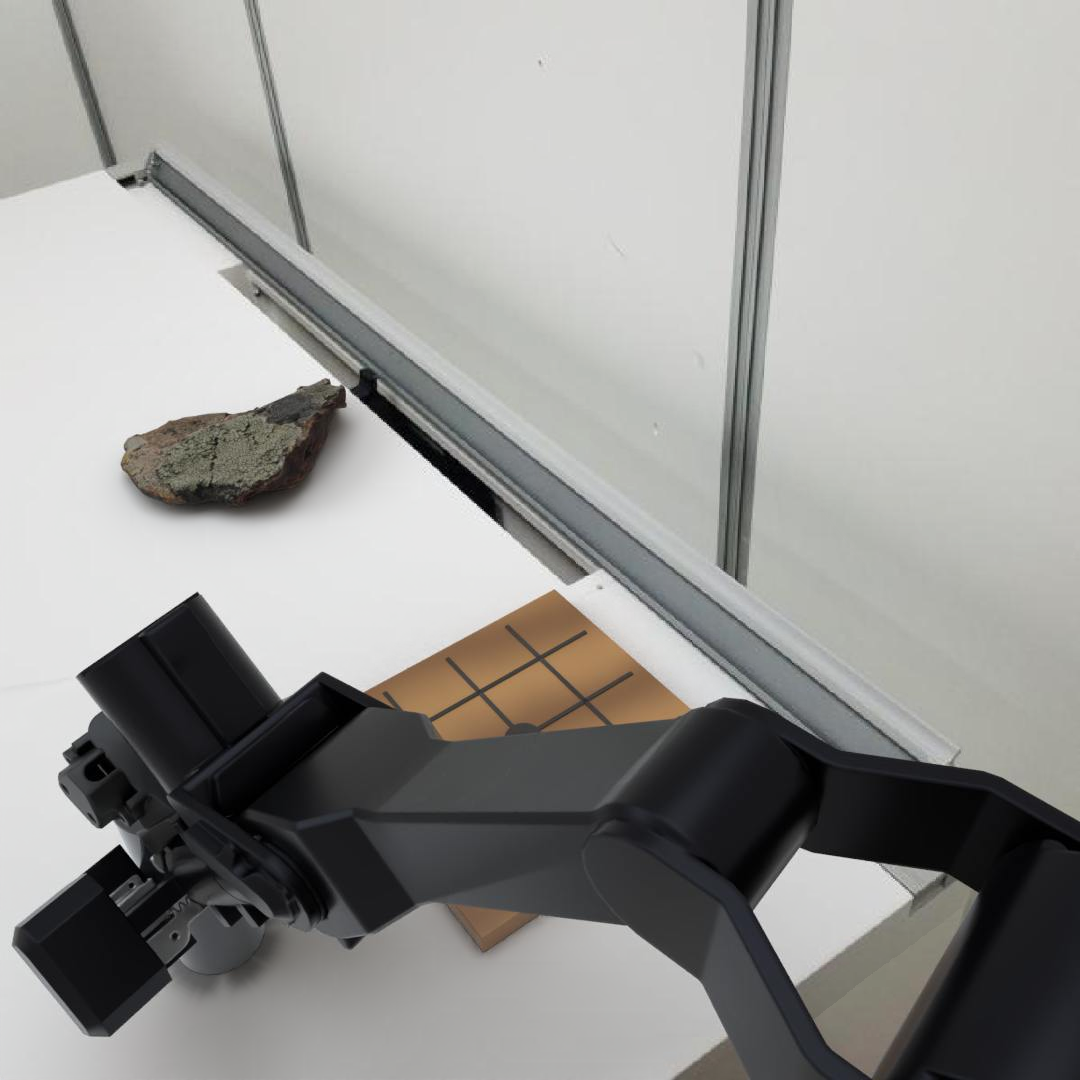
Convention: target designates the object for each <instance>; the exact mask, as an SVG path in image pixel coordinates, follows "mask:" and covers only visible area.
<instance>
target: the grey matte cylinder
mask: <svg viewBox="0 0 1080 1080" xmlns="http://www.w3.org/2000/svg"><path fill="white" fill-rule="evenodd" d="M112 822H113V823H114V825H115V827H116V829H117V832H118V834H119V836H120V838H121V840H122V842H123V845H124V847H125V848H126V850H127V853H128V855H129V856H130V857H131V859H132V860H133V861H134V862H135V864H136V865H137V866H138V867H139V869H140V870H141V871H142V872H143V874H144V875H145V876H146V877H147V879H148V878H151V879H152V880H153V881H154V882H155V884H156V885H158V884H159V883H160V882H162V881H163V880H164V879H165V878H166V877H167V876H169V875H170V873H169V870H168V868H167V867H166V866H165V870H166V874H164V875H162V874H161V873H159V872H157V871H156V869H155V868H154V867H153V865H152V864H151V862H150V859H151V857H152V856H153V855H154V854H152V853H151V851H150V850H149V849H148V848H147V846H146V845H145V844H144V843H143V841H142V840H141V839H140V838H139V836H138V835H137V834H136V832H138V831H139V830H140V829H141V828H143V826H142V825H141V824H140V823H139V821H136V822H135V823H134V824H133V825H132V826H130V827H127V826H126V825H125V824H124V823H123V822H122V821H120V820H113V821H112ZM186 896H187V895H185V896H183V897H182V898H181V899H180V900H179V901H178V902H177V903H175V904H174V905H173V906H174V908H176V909H177V910H179V911H180V908H179V905H178V903H180V902H183V903H184V904H187V903H186V899H185V897H186ZM265 928H266V922H265V923H264V924H263V925H261V926H260V927H251V925H250V924H249V923H248V922H247V920H246V919H245V918H244V916H243V917H242V918H241V919H240V920H238V921H237V922H236V923H235V924H234V925H233V926H232V927H224V925H223V924H222V923H221V922H220V920H219V919H218V918H217V917H216V915H215V914H214V913H213V911H212V910H211V909H210V908H209V907H208V908H206V909H205V910H204V911H203V912H202V913H201V914H200V915H199V916H197V917H196V918H195V919H194V920H193V921H192V922H191V923H190V925H189V930H190V933H191V934H192V935H193V937H194V938H195V939H196V940H197V943H196V944H195V945H193V946H192V947H191V948H190V949H189V950H188V951H187V952H186V953H185V954H184V955H182V956H181V957H180V958H179V960H180V962H181V963H182V964H183V965H184V966H185V967H186V968H188V969H189V970H190V971H193V972H195V973H198V974H202V975H219V974H223V973H226V972H229V971H232V970H234V969H236V968H238V967H240V966H241V965H242V964H244V963H245V962H246V961H248V960H249V959H250V958H251V957H252V956H253V954H255V952H256V951H257V949H258V948H259V946H260V945H261V943H262V941H263V938H264V933H265Z"/></svg>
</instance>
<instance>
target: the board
mask: <svg viewBox="0 0 1080 1080" xmlns="http://www.w3.org/2000/svg"><path fill="white" fill-rule="evenodd" d="M363 692H364V693H366V694H367V695H369V696H371V697H373V698H375V699H377V700H379V701H381V702H383V703H385V704H387V705H389V706H391V707H393V708H394V709H396V710H401V711H409V712H417V713H423V714H426V715H427V716H428V718H429V719H430V721H431V722H432V724H433V725H434V727H435V728H436V729H437V731H438V732H439V734H440V735H441V737H442V738H443V740H446V741H460V740H470V739H480V738H490V737H499V736H509V735H519V734H529V733H538V732H548V731H558V730H568V729H577V728H587V727H597V726H607V725H616V724H626V723H636V722H646V721H656V720H665V719H675V718H677V717H679V716H682V715H684V714H685V713H687V712H689V711H690V710H692V708H690V707H689V706H688V705H687V704H686V703H685V702H684V701H682V700H681V699H680V698H679V697H678V696H677V695H676V694H675V693H673V692H672V691H671V690H670V689H669V688H668V687H666V686H665V685H664V684H663V683H662V682H661V681H660V680H659V679H657V678H656V676H654V675H653V674H652V673H651V672H649V670H647V669H646V668H645V667H644V666H643V665H642V664H640V663H639V662H638V661H637V660H636V659H634V657H633V656H631V655H630V654H629V653H628V652H627V651H626V650H624V648H622V647H621V646H620V645H619V644H618V643H617V642H615V641H614V640H613V639H612V638H611V637H610V636H609V635H607V634H606V633H605V632H604V630H602V629H601V628H599V627H598V626H597V625H596V624H595V623H594V622H593V621H591V619H589V618H588V617H587V616H586V615H585V614H584V613H583V612H581V610H579V609H578V608H577V607H576V606H575V605H573V604H572V603H571V602H570V601H569V600H568V599H567V598H565V596H563V595H562V594H561V593H560V592H558V591H557V590H556V589H552V590H549V591H548V592H546V593H544V594H542V595H541V596H539V597H537V598H536V599H534V600H531V601H530V602H528V603H525V604H524V605H523V606H520V607H519V608H517V609H515V610H513V611H511V612H509V613H507V614H506V615H504V616H502V617H499V618H498V619H496V620H495V621H492V622H491V623H489V624H487V625H485V626H483V627H482V628H479V629H478V630H476V631H474V632H472V633H470V634H469V635H467V636H465V637H463V638H461V639H459V640H457V641H456V642H454V643H452V644H450V645H448V646H446V647H444V648H443V649H440V650H438V651H437V652H435V653H433V654H432V655H430V656H428V657H426V658H424V659H422V660H421V661H419V662H416V663H415V664H413V665H411V666H409V667H407V668H405V669H404V670H402V671H400V672H398V673H396V674H394V675H392V676H391V677H389V678H387V679H385V680H384V681H382V682H380V683H377V684H376V685H374V686H372V687H370V688H369V689H367V690H365V691H363ZM445 905H446V906H447V907H448V909H449V910H450V911H451V912H452V914H453V915H454V916H455V918H456V919H457V920H458V921H459V923H460V924H461V925H462V928H464V929H465V931H466V932H467V933H468V935H469V936H470V938H472V940H473V941H474V942H475V944H476V945H477V946H478V948H479V949H480V950H481V951H482V952H483V953H486V952H487V951H488V950H490V949H491V948H493V947H494V946H495V945H497V944H498V943H500V942H501V941H503V940H504V939H506V938H507V937H508V936H511V934H513V933H514V932H516V931H517V930H519V929H521V928H522V927H523V926H524V925H526V924H528V923H529V922H530V921H531V920H534V918H536V917H538V916H539V915H535V914H527V913H519V912H511V911H503V910H494V909H486V908H478V907H470V906H462V905H454V904H446V903H445Z"/></svg>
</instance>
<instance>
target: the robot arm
mask: <svg viewBox="0 0 1080 1080" xmlns="http://www.w3.org/2000/svg"><path fill="white" fill-rule="evenodd" d="M75 679H76V680H77V681H78V683H79V684H80V685H81V686H82V687H83V689H84V690H85V691H86V692H87V694H88V695H89V696H90V698H91V699H92V700H93V702H94V703H95V704H96V705H97V707H98V708H99V709H100V710H101V711H99V712H98V713H97V714H96V715H95V716H94V717H93V718H92V719H91V720H90V722H89V724H88V727H87V731H86V732H85V733H84V734H82V735H80V736H79V737H78V738H77V739H76V740H74V741H73V742H71V746H70V747H69V748H67V749H66V750H64V751H63V752H62V753H61V754H62V757H63V758H64V760H65V761H66V763H67V764H68V765H67V766H66V767H64V768H63V769H62V770H60V772H58V775H57V781H58V786H59V788H60V790H61V792H62V793H63V794H64V795H65V797H66V798H67V799H68V800H69V801H70V802H71V803H72V804H73V805H74V806H75V808H77V810H78V811H79V812H80V813H81V814H82V815H83V816H84V817H85V819H86V820H87V821H89V823H90V824H91V825H92V826H93V827H94V828H96V829H101V830H102V829H104V828H106V826H107V825H109V824H111V822H114V821H113V820H120V821H122V822H123V823H124V824H125V825H126V826H127V827H130V826H132V825H133V824H134V823H135V822H136V821H139V823H140V824H141V825H142V826H143V828H141V829H140V830H139V831H138V832H136V834H137V835H138V836H139V838H140V839H141V840H142V841H143V843H144V844H145V845H146V846H147V848H148V849H149V850H150V851H151V853H152V854H154V855H153V856H152V857H151V859H150V862H151V864H152V865H153V867H154V868H155V869H156V871H157V872H159V873H161V874H162V875H164V874H166V870H165V866H166V867H167V868H168V870H169V873H170V875H169V876H167V877H166V878H165V879H164V880H163V881H162V882H160V883H159V884H158V885H156V884H155V882H154V881H153V880H152V879H151V878H148V879H147V877H146V876H145V875H144V874H143V872H142V871H141V870H140V869H139V867H138V866H137V865H136V864H135V862H134V861H133V860H132V859H131V857H130V854H129V853H128V851H126V850H125V848H124V847H123V846H122V845H121V844H117V845H115V847H114V848H112V849H111V850H110V851H108V852H107V853H106V854H105V855H104V856H102V857H101V858H99V860H98V861H96V862H95V863H93V864H92V865H91V866H90V867H88V869H86V870H84V872H82V873H81V874H80V875H79V876H78V877H77V878H75V879H73V880H72V881H70V883H68V884H66V885H65V886H63V887H62V888H61V889H60V890H59V891H58V892H56V893H55V894H54V895H52V896H51V897H50V898H49V899H47V900H46V901H45V902H44V903H43V904H41V905H39V907H37V908H36V909H35V910H34V911H33V912H31V913H30V914H28V915H27V916H26V917H25V918H24V919H22V920H21V921H20V922H19V923H18V924H17V925H15V926H14V929H13V935H12V940H11V947H12V948H13V950H14V951H15V952H16V953H17V954H18V956H19V957H20V959H22V961H23V962H24V963H25V965H27V967H28V968H29V969H30V970H31V972H32V973H33V974H34V975H35V977H36V978H37V979H38V980H39V981H40V983H41V984H42V985H43V986H44V988H45V989H46V990H47V991H48V992H49V994H50V995H51V996H52V997H53V999H54V1000H55V1001H56V1002H57V1004H58V1005H59V1006H60V1007H61V1008H62V1009H63V1011H64V1012H65V1014H66V1015H67V1016H68V1017H69V1018H70V1019H71V1020H72V1022H73V1024H75V1026H76V1027H77V1028H78V1029H79V1030H80V1031H81V1033H82V1034H83V1035H85V1036H88V1037H92V1038H93V1037H95V1038H111V1037H112V1036H113V1035H114V1034H115V1033H116V1032H117V1031H119V1029H121V1027H123V1026H124V1025H125V1024H126V1023H127V1022H129V1020H131V1019H132V1018H133V1017H134V1016H135V1015H136V1014H137V1013H138V1012H139V1011H140V1010H141V1009H142V1008H144V1007H145V1005H147V1004H148V1003H149V1002H151V1000H152V999H153V998H155V997H156V996H157V995H158V994H159V993H160V992H161V991H162V990H163V989H164V988H165V987H167V986H168V985H169V984H170V983H171V982H172V981H173V978H172V976H171V974H170V972H169V969H170V968H171V966H173V965H174V964H175V963H176V962H177V961H178V960H180V957H181V956H182V955H184V954H185V953H186V952H187V951H188V950H189V949H190V948H191V947H192V946H193V945H195V944H196V943H197V940H196V939H195V938H194V937H193V935H192V934H191V933H190V930H189V925H190V923H191V922H192V921H193V920H194V919H195V918H196V917H197V916H199V915H200V914H201V913H202V912H203V911H204V910H205V909H206V908H208V907H209V908H210V909H211V910H212V911H213V913H214V914H215V915H216V917H217V918H218V919H219V920H220V922H221V923H222V924H223V925H224V927H232V926H233V925H234V924H235V923H236V922H237V921H238V920H240V919H241V918H242V917H243V916H244V918H245V919H246V920H247V922H248V923H249V924H250V925H251V927H260V926H261V925H263V924H264V923H265V924H266V922H267V921H268V920H269V919H271V920H280V922H281V923H282V924H283V925H284V926H285V927H287V928H290V927H293V928H294V929H296V930H297V931H300V932H303V933H306V934H307V933H310V932H311V931H312V930H313V929H315V930H317V931H319V932H320V933H321V934H323V935H326V936H329V937H331V938H333V939H336V940H337V942H338V943H339V944H340V945H341V946H342V948H344V949H346V950H348V951H350V950H351V951H352V950H353V949H354V948H356V946H358V944H360V943H361V941H363V939H364V938H365V937H366V936H371V935H376V934H379V933H380V932H381V931H383V930H385V929H386V928H388V927H389V926H391V925H393V924H394V923H396V922H398V921H399V920H401V919H402V918H404V917H406V916H407V915H409V914H411V913H412V912H414V911H415V910H417V909H418V908H420V907H422V906H424V905H430V904H436V903H439V904H445V905H446V904H454V905H462V906H470V907H478V908H486V909H494V910H503V911H511V912H519V913H527V914H535V915H538V916H544V917H553V918H561V919H568V920H577V921H584V922H594V923H599V924H607V925H618V926H626V927H628V928H629V929H630V930H631V931H633V932H634V933H635V934H636V935H637V936H638V937H640V938H641V939H642V940H644V941H645V942H647V943H648V944H650V945H651V946H652V947H653V948H655V950H658V951H659V952H660V953H661V954H663V955H664V956H666V957H667V958H668V959H670V960H671V961H672V962H674V963H675V964H676V965H678V966H679V967H680V968H682V969H683V970H684V971H686V972H687V973H688V974H690V975H691V976H693V977H694V978H696V979H697V980H698V981H699V982H700V984H701V985H702V987H703V989H704V990H705V993H706V995H707V997H708V999H709V1001H710V1003H711V1005H712V1007H713V1009H714V1011H715V1013H716V1015H717V1017H718V1019H719V1021H720V1023H721V1025H722V1027H723V1029H724V1032H725V1033H726V1035H727V1037H728V1040H729V1041H730V1043H731V1045H732V1048H733V1049H734V1051H735V1053H736V1055H737V1057H738V1060H739V1061H740V1063H741V1067H742V1068H743V1069H744V1072H745V1073H746V1074H745V1075H746V1076H747V1078H748V1080H1080V820H1078V819H1076V818H1074V817H1073V816H1071V815H1070V814H1067V813H1066V812H1064V811H1063V810H1061V809H1058V808H1056V807H1055V806H1053V805H1052V804H1050V803H1048V802H1046V801H1045V800H1043V799H1041V798H1039V797H1037V796H1036V795H1034V794H1032V793H1031V792H1028V791H1026V790H1025V789H1023V788H1021V787H1019V786H1018V785H1016V784H1015V783H1013V782H1011V781H1009V780H1007V779H1006V778H1004V777H1002V776H999V775H997V774H993V773H991V772H988V771H985V770H979V769H972V768H967V767H960V766H952V765H945V764H938V763H931V762H924V761H916V760H910V759H904V758H903V759H902V758H895V757H889V756H883V755H876V754H875V755H874V754H868V753H862V752H854V751H846V750H841V749H838V748H836V747H834V746H832V745H831V744H829V743H827V742H825V741H824V740H823V739H821V738H819V737H817V736H815V735H813V734H812V733H810V732H808V731H807V730H805V729H803V728H802V727H800V726H799V725H797V724H795V723H794V722H792V721H790V720H788V719H787V718H785V717H783V716H782V715H780V714H779V713H777V712H776V711H774V710H772V709H769V708H767V707H765V706H762V705H760V704H758V703H756V702H753V701H751V700H749V699H744V698H736V697H725V696H723V697H721V698H719V699H716V700H714V701H711V702H709V703H707V704H706V705H705V706H700V707H696V708H691V710H690V711H689V712H687V713H685V714H684V715H682V716H679V717H677V718H675V719H665V720H656V721H646V722H636V723H626V724H616V725H607V726H597V727H587V728H577V729H568V730H558V731H548V732H538V733H529V734H519V735H509V736H499V737H490V738H480V739H470V740H460V741H446V740H443V738H442V737H441V735H440V734H439V732H438V731H437V729H436V728H435V727H434V725H433V724H432V722H431V721H430V719H429V718H428V716H427V715H426V714H423V713H417V712H409V711H401V710H396V709H394V708H393V707H391V706H389V705H387V704H385V703H383V702H381V701H379V700H377V699H375V698H373V697H371V696H369V695H367V694H366V693H364V692H365V691H361V690H360V689H358V688H356V687H354V686H352V685H350V684H348V683H347V682H344V681H343V680H340V679H339V678H336V677H334V676H333V675H331V674H329V673H327V672H326V671H320V672H319V673H318V674H316V675H315V676H314V677H313V678H311V679H310V680H309V681H308V682H306V683H305V684H304V685H303V686H301V687H300V688H299V689H297V691H295V692H294V693H292V694H291V695H289V696H287V697H285V698H281V697H280V696H279V694H278V692H276V690H275V689H274V688H273V686H272V685H271V683H270V682H269V681H268V680H267V678H266V677H265V676H264V675H263V673H262V672H261V671H260V669H259V668H258V666H257V665H256V664H255V663H254V662H253V660H252V659H251V657H250V655H248V654H247V652H246V651H245V650H244V648H243V647H242V646H241V645H240V643H239V642H238V641H237V639H236V638H235V636H234V635H233V634H232V633H231V631H230V630H229V628H228V627H227V626H226V625H225V624H224V622H223V621H222V620H221V618H220V617H219V616H218V614H217V613H216V612H215V610H214V609H213V608H212V607H211V605H210V604H209V603H208V602H207V600H206V598H205V597H204V596H203V595H202V594H200V592H199V591H196V592H195V593H192V595H190V596H189V597H187V598H186V599H184V600H183V601H181V602H180V603H178V604H177V605H175V606H174V607H173V608H171V609H170V610H168V611H167V612H165V613H163V614H162V615H161V616H159V617H158V618H156V619H155V620H154V621H152V622H151V623H149V624H148V625H147V626H145V627H143V628H142V629H141V630H139V631H138V632H136V633H135V634H133V635H132V636H131V637H129V638H127V639H126V640H125V641H123V642H122V643H120V644H119V645H118V646H116V647H114V649H112V650H110V651H109V652H107V653H106V654H104V655H103V656H102V657H100V658H99V659H97V660H96V661H94V662H93V663H92V664H90V665H89V666H87V667H85V668H84V669H82V671H80V672H79V673H78V674H77V675H76V676H75ZM799 849H800V850H801V849H802V850H804V851H807V852H809V853H812V854H819V855H823V856H824V855H825V856H831V857H838V858H844V859H851V860H857V861H864V862H869V863H870V862H871V863H877V864H884V865H890V866H898V867H904V868H910V869H916V870H923V871H930V872H938V873H944V874H946V875H949V876H950V877H952V878H954V879H955V880H956V881H958V882H960V883H962V884H963V885H964V886H967V887H968V888H970V889H972V890H973V891H974V892H976V893H977V894H976V896H975V898H974V900H973V901H972V903H971V905H970V906H969V907H968V910H967V912H965V915H964V917H963V918H962V920H961V922H960V923H959V925H958V926H957V929H956V930H955V932H954V934H953V935H952V937H951V938H950V941H949V942H948V944H947V946H946V947H945V949H944V951H943V952H942V954H941V956H940V958H939V959H938V960H937V962H936V965H935V966H934V968H933V969H932V971H931V973H930V974H929V976H928V978H927V979H926V982H925V983H924V984H923V986H922V988H921V990H920V991H919V993H918V995H917V996H916V998H915V1000H914V1002H913V1003H912V1005H911V1007H910V1008H909V1010H908V1012H907V1014H906V1015H905V1017H904V1019H903V1021H902V1022H901V1024H900V1026H899V1027H898V1029H897V1031H896V1032H895V1034H894V1036H893V1037H892V1039H891V1040H890V1042H889V1045H888V1046H887V1048H886V1050H885V1051H884V1053H883V1055H882V1056H881V1058H880V1060H879V1061H878V1063H877V1064H876V1066H875V1068H874V1069H873V1071H872V1072H871V1073H870V1074H869V1075H868V1074H866V1073H864V1072H863V1071H862V1070H860V1069H859V1068H858V1067H856V1066H855V1065H854V1064H852V1063H851V1062H849V1061H848V1060H846V1059H845V1058H844V1057H843V1056H841V1055H840V1054H838V1053H837V1052H835V1051H834V1050H833V1049H832V1048H831V1047H830V1045H828V1044H827V1042H826V1041H825V1038H824V1037H823V1035H822V1033H821V1031H820V1029H819V1028H818V1026H817V1023H816V1022H815V1020H814V1019H813V1017H812V1015H811V1013H810V1011H809V1009H808V1008H807V1006H806V1004H805V1002H804V1001H803V999H802V997H801V995H800V993H799V991H798V990H797V988H796V986H795V984H794V982H793V980H792V979H791V977H790V975H789V973H788V971H787V970H786V968H785V967H784V964H783V962H782V961H781V959H780V957H779V955H778V953H777V951H776V950H775V948H774V946H773V944H772V943H771V941H770V939H769V937H768V935H767V934H766V931H765V930H764V929H763V927H762V925H761V923H760V921H759V919H758V917H757V916H756V914H755V912H754V910H755V909H756V908H757V906H758V905H759V904H760V903H761V901H762V899H763V898H764V897H765V896H766V894H767V893H768V892H769V890H770V889H771V888H772V886H773V884H775V882H776V881H777V879H778V878H779V877H780V875H781V874H782V872H783V871H784V870H785V868H786V867H787V866H788V864H789V863H790V861H792V859H793V858H794V856H795V855H796V853H797V852H798V851H799ZM185 895H187V896H186V897H185V899H186V903H187V904H184V903H183V902H180V903H178V905H179V908H180V911H179V910H177V909H176V908H174V906H173V905H174V904H175V903H177V902H178V901H179V900H180V899H181V898H182V897H183V896H185Z"/></svg>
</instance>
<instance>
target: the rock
mask: <svg viewBox="0 0 1080 1080" xmlns="http://www.w3.org/2000/svg"><path fill="white" fill-rule="evenodd" d="M346 400H347V390H346V386H345V385H343V384H341V383H340V384H339V385H333V384H332V383H331V379H330V378H327V377H325V378H322V379H320V380H318V381H316V382H315V383H312V384H310V385H299V386H298V387H297V388H296V391H294V392H292V393H290V394H287V395H285V396H283V397H281V398H279V399H276V400H274V401H271V402H270V403H267V404H264V405H262V406H260V407H258V406H256V407H255V408H254V409H250V410H247V411H244V412H236V413H228V412H214V413H212V412H211V413H204V414H197V415H192V416H184V417H181V418H177V419H173V420H171V419H170V420H168V421H167V422H166V423H164V424H163V425H161V426H159V427H157V428H154V429H152V430H149V431H147V432H143V433H142V434H137V433H136V434H134V435H132V436H130V437H128V438H127V439H126V440H125V441H124V443H123V450H124V451H125V452H124V454H123V456H122V458H121V461H120V467H121V470H122V471H123V472H125V474H127V475H128V477H129V479H130V480H131V481H132V483H133V484H134V486H135V487H136V488H137V490H138V491H140V492H141V493H142V494H143V495H144V496H145V497H148V498H150V499H153V500H156V501H160V502H163V503H165V504H167V505H170V506H174V505H180V504H191V505H198V504H202V503H207V502H210V501H215V502H217V503H219V504H223V505H226V506H229V507H233V508H240V507H242V506H244V505H245V504H246V503H247V502H248V501H249V500H250V499H251V498H252V497H254V496H255V495H257V494H259V493H265V492H267V491H272V490H274V491H275V490H284V489H292V488H295V487H298V486H299V485H300V484H301V483H302V481H303V480H304V479H305V478H306V477H307V476H308V475H309V474H310V473H311V471H312V468H313V466H314V464H315V461H316V459H317V457H318V455H319V454H320V453H319V452H320V450H321V449H322V446H323V445H324V444H325V442H326V440H327V438H328V436H329V429H330V425H331V423H332V420H333V418H334V411H336V410H338V409H339V410H340V409H346V408H347V406H348V404H347V402H346Z"/></svg>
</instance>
